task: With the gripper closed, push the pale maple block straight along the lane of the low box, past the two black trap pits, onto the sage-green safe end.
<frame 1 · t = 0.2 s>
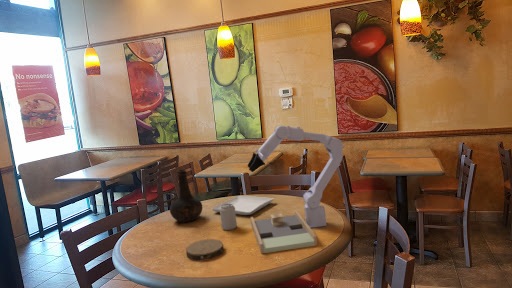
hand: (249, 169, 179), 31 cm above the table, tool tilted 45°, fingers open, 7 cm apart
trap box: (281, 234, 178), on the table
maple block: (277, 223, 186), point 2 cm above the table, touching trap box
square plate: (243, 209, 224), on the table
glass bottle: (187, 219, 213), on the table
can: (229, 228, 193), on the table
grey brown round disc: (205, 253, 166), on the table
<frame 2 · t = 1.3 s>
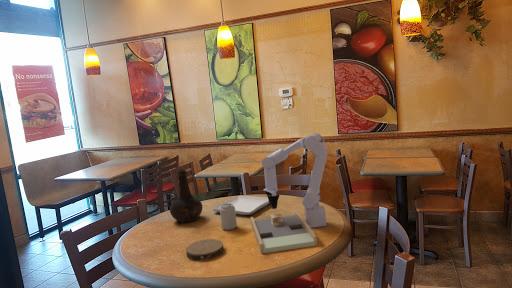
hand: (273, 206, 193), 9 cm above the table, tool pointing down, fingers open, 7 cm apart
nothing on the table moved.
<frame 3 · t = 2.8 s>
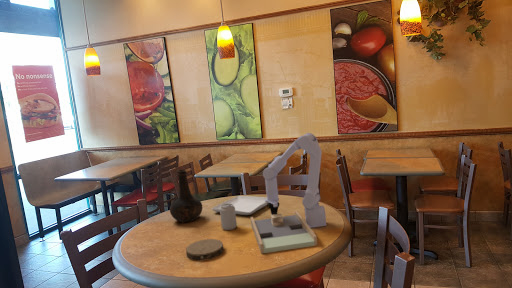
hand: (274, 216, 193), 3 cm above the table, tool pointing down, fingers closed
nothing on the table moved.
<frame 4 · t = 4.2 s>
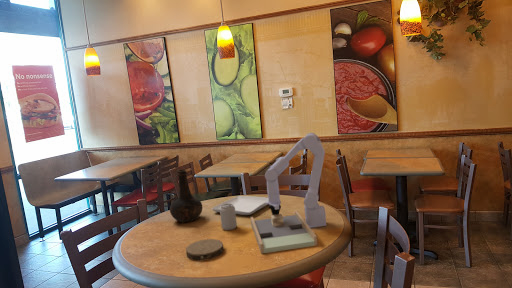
hand: (276, 219, 189), 3 cm above the table, tool pointing down, fingers closed
maple block: (277, 224, 185), point 2 cm above the table, touching gripper
everything else where it was.
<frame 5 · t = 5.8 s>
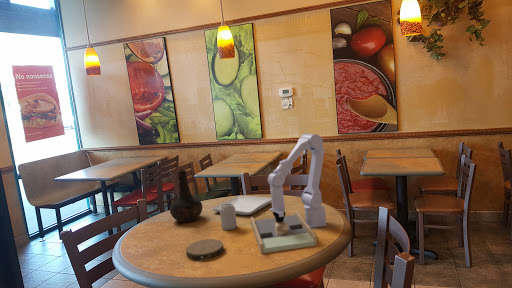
hand: (280, 227, 178), 3 cm above the table, tool pointing down, fingers closed
maple block: (281, 232, 174), point 2 cm above the table, touching gripper
everything else where it was.
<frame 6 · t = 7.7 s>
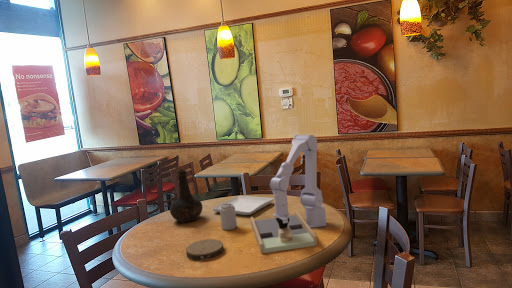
hand: (283, 233, 170), 3 cm above the table, tool pointing down, fingers closed
maple block: (285, 239, 166), point 2 cm above the table, touching gripper, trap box
everything else where it was.
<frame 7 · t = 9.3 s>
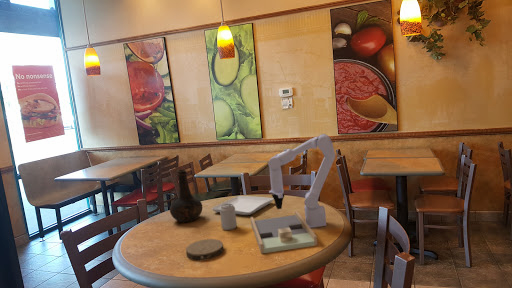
hand: (279, 208, 187), 9 cm above the table, tool pointing down, fingers closed
maple block: (285, 239, 166), point 2 cm above the table, touching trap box
everything else where it was.
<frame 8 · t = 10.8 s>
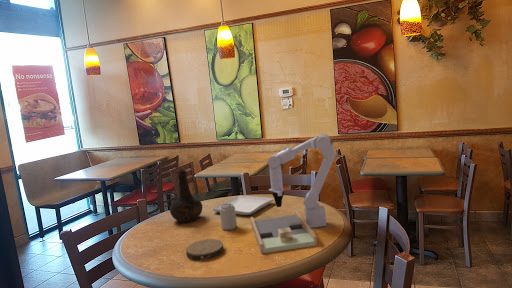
hand: (278, 206, 188), 9 cm above the table, tool pointing down, fingers closed
nothing on the table moved.
at the end: maple block inside the target area on the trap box (1.1 cm from its centre), point 2.0 cm above the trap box's base; maple block tilted 0° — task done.
